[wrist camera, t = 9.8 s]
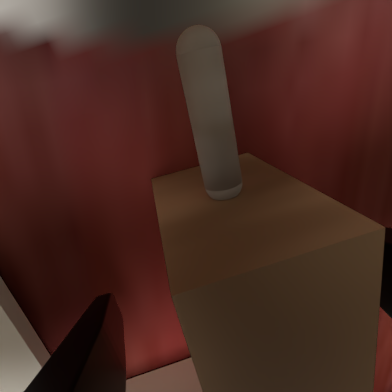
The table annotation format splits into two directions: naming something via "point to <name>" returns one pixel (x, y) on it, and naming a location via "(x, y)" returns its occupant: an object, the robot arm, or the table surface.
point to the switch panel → (167, 379)
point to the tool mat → (17, 346)
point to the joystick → (263, 257)
